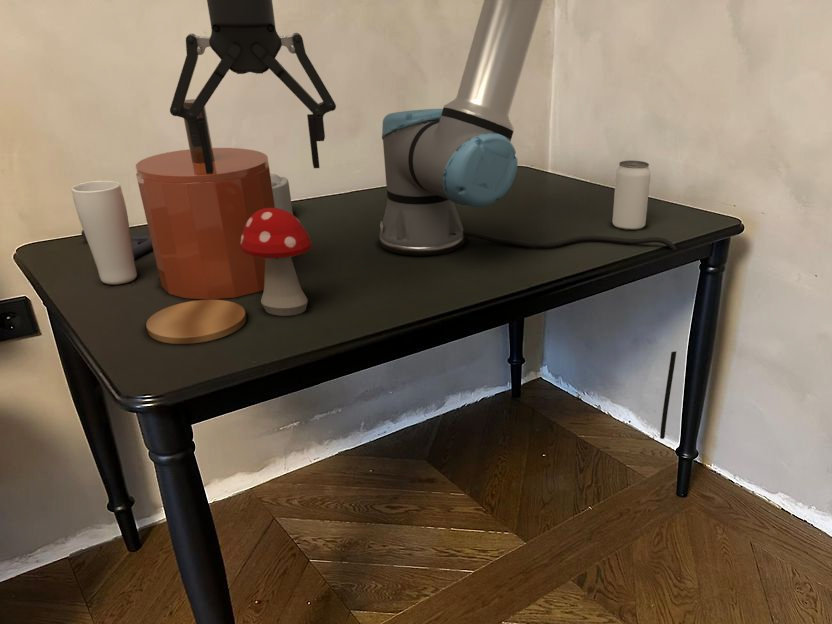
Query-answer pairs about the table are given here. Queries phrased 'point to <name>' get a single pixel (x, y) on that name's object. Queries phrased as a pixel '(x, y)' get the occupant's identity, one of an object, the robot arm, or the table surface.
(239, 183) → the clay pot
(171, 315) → the round golden metal disc
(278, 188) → the lumpy-topped squat cylinder
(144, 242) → the bracket
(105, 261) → the drinking glass
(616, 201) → the can
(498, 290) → the table surface
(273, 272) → the decorative mushroom
